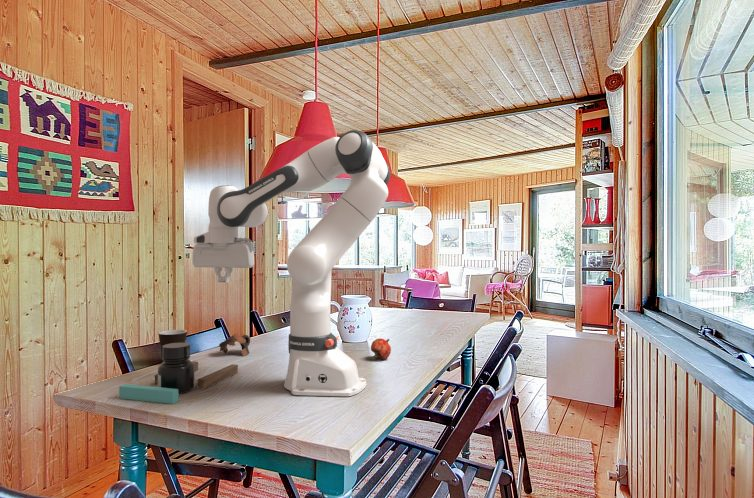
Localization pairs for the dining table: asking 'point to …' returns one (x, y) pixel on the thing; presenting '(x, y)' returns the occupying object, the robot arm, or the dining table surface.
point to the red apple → (380, 348)
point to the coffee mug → (171, 337)
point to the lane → (212, 375)
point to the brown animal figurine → (231, 341)
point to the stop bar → (148, 393)
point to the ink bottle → (176, 368)
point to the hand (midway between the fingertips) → (223, 282)
